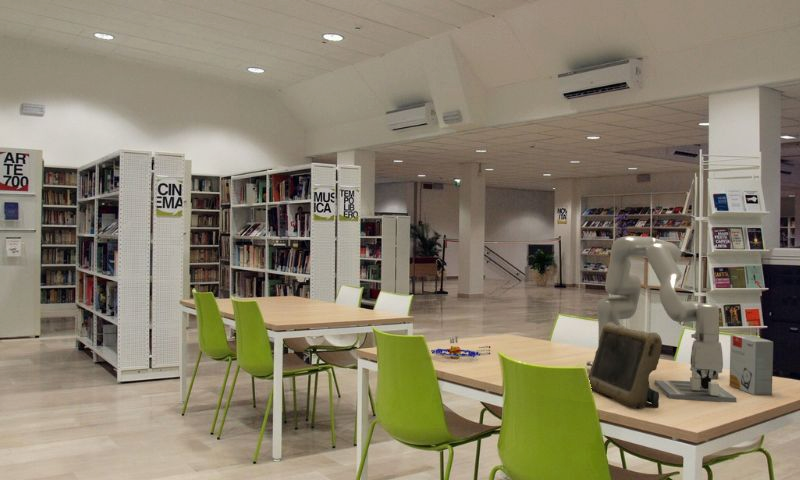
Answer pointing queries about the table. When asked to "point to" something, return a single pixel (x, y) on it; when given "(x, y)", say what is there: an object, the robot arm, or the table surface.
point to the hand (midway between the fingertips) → (705, 388)
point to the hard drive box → (751, 364)
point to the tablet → (626, 365)
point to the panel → (691, 392)
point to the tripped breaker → (694, 383)
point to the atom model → (458, 351)
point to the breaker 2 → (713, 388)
